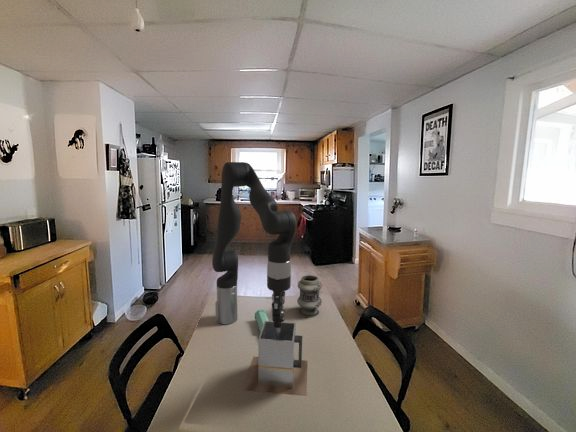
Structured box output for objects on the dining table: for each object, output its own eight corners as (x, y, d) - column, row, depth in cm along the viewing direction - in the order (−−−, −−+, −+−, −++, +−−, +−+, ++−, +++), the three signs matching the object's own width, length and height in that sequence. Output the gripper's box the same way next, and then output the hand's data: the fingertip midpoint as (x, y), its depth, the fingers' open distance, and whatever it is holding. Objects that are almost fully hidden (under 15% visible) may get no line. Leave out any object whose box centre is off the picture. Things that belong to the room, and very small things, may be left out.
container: (277, 338, 105) (263, 307, 129) (262, 346, 104) (252, 312, 128) (282, 350, 107) (268, 317, 131) (268, 358, 106) (257, 323, 129)
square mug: (258, 385, 88) (258, 340, 86) (264, 361, 99) (264, 320, 97) (300, 389, 87) (301, 343, 84) (301, 364, 98) (303, 323, 96)
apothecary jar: (298, 305, 145) (299, 272, 142) (321, 307, 143) (322, 274, 140) (295, 317, 133) (296, 281, 130) (320, 319, 131) (322, 283, 128)
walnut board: (242, 393, 87) (242, 390, 86) (253, 359, 102) (253, 356, 102) (306, 399, 85) (306, 395, 85) (307, 363, 101) (307, 360, 100)
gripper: (270, 265, 95) (270, 311, 98) (263, 281, 81) (263, 335, 84) (292, 266, 94) (291, 313, 97) (288, 282, 80) (287, 336, 83)
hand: (278, 323), depth 90 cm, fingers closed on plunger, 4 cm apart
